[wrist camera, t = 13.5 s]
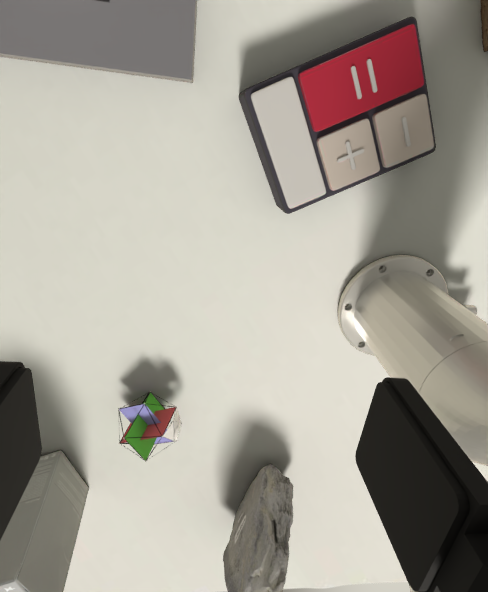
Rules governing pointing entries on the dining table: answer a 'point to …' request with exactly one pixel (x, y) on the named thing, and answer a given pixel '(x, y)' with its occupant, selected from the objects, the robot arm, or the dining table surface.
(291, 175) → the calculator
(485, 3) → the box
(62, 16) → the socket plate
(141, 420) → the geometric puzzle
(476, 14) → the dining table surface
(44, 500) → the skincare box
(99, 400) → the dining table surface
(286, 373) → the dining table surface
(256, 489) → the decorative rock
